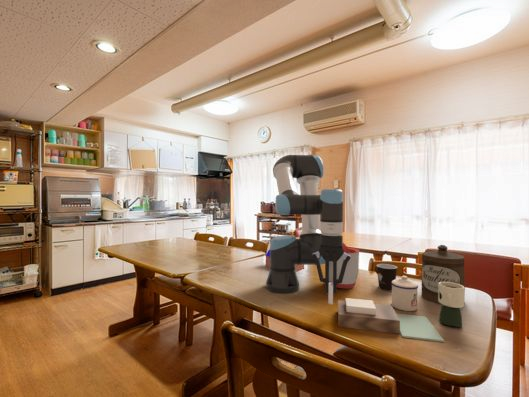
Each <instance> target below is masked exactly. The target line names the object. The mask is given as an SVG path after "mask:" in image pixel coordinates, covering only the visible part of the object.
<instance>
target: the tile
mask: <svg viewBox="0 0 529 397" xmlns="http://www.w3.org/2000/svg"><path fill="white" fill-rule="evenodd" d="M345 301H346V312H353V313H362V314H372V315H376V307H375V305H374V304H375V303H374V300H370V299H361V298H360V299H359V298H349V297H346V298H345Z"/></svg>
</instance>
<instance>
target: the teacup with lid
mask: <svg viewBox="0 0 529 397" xmlns="http://www.w3.org/2000/svg"><path fill="white" fill-rule="evenodd" d="M391 284H392V291H391V305H392V307H393V308H395V309H396V310H400V311H404V312H415V311H417V310H418V289H419V284H418V283H417V282H414V281H413V280H411V279H409V278H408V276H406V275H402V276H401V277H399V278H396V279H395V280H393V281H392V282H391Z"/></svg>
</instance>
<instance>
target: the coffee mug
mask: <svg viewBox="0 0 529 397" xmlns="http://www.w3.org/2000/svg"><path fill="white" fill-rule="evenodd" d="M374 269H375V273H376V274H377V280H378V281H377V282H378V288H379V289H380V290H383V291H390V292H392V284H391V282H392V281H393V280H395V279H397V273H398V272H397V271H398V266H396V265H394V264H388V263H379V264H378V263H377V264H376V265H375V268H374Z"/></svg>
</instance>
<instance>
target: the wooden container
mask: <svg viewBox="0 0 529 397" xmlns="http://www.w3.org/2000/svg"><path fill="white" fill-rule="evenodd" d="M437 249H438V250H437V251H435V250H434V251H432V250H431V251H423V252H422V254H421V260H422V263H421V264H422V266H421V296H422V298H424V299H425V300H427V301H430V302H433V303H436V304H441V303H440V302H439V301H438V283H439V282H452V283H457V284H460V285H462V286H464V288H466V287H465V286H466V285H465V284H466V283H465V282H466V280H465V278H466V277H465V256H463V255H461V254H458V253H455V252H449V251H447V250H448V246H446V245H444V244H440V245H438V246H437ZM464 301H466V300H465V292H464ZM441 305H442V304H441Z"/></svg>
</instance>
